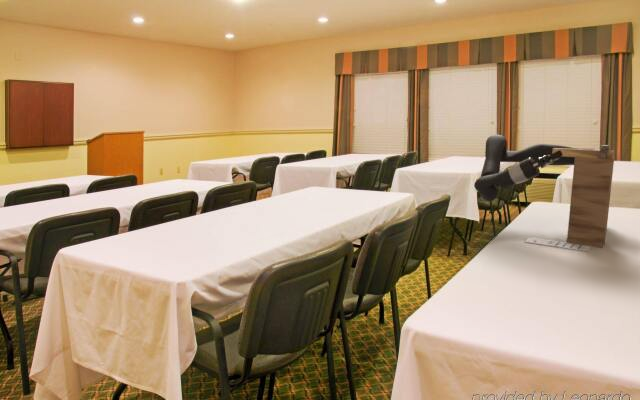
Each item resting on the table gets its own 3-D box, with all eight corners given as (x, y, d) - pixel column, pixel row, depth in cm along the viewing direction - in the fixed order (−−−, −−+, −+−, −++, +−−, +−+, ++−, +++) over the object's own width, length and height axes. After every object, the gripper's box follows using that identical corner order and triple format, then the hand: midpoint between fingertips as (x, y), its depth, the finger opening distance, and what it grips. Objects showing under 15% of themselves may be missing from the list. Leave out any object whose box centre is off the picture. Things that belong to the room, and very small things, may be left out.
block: (553, 155, 195) (554, 147, 195) (613, 158, 183) (614, 150, 183) (552, 155, 193) (552, 148, 193) (612, 159, 181) (613, 151, 181)
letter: (530, 238, 199) (530, 237, 199) (590, 247, 186) (591, 246, 186) (524, 242, 192) (524, 241, 192) (586, 251, 180) (586, 250, 180)
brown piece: (569, 239, 197) (578, 144, 191) (605, 244, 190) (615, 145, 184) (566, 242, 193) (575, 144, 186) (602, 247, 186) (613, 146, 179)
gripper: (533, 177, 206) (573, 159, 196) (523, 181, 195) (564, 162, 185) (524, 161, 207) (563, 142, 197) (513, 163, 196) (554, 143, 186)
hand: (564, 151), depth 191 cm, fingers open, 8 cm apart
